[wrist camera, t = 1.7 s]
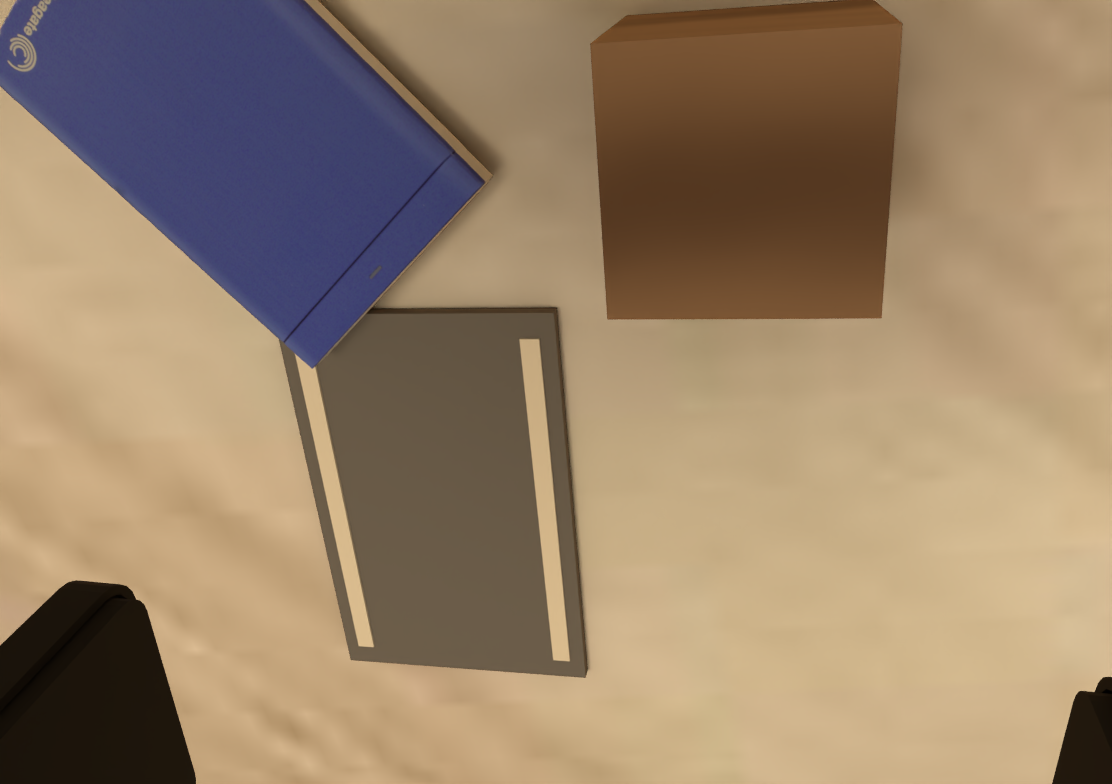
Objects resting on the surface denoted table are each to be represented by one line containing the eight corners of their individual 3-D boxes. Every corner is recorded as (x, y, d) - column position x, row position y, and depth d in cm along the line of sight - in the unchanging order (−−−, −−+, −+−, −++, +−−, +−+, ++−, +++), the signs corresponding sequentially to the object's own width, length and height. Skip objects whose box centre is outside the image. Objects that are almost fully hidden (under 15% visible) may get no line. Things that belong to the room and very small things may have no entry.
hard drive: (-27, 70, 27) (308, 373, 29) (112, -180, 23) (482, 186, 25) (12, 64, 28) (329, 353, 30) (149, -173, 25) (497, 173, 27)
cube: (627, 15, 25) (590, 43, 19) (870, -2, 23) (902, 23, 18) (637, 240, 27) (607, 319, 22) (857, 235, 26) (881, 318, 21)
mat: (279, 309, 30) (271, 315, 30) (556, 308, 28) (552, 314, 28) (354, 652, 36) (349, 661, 36) (587, 669, 35) (585, 679, 34)
